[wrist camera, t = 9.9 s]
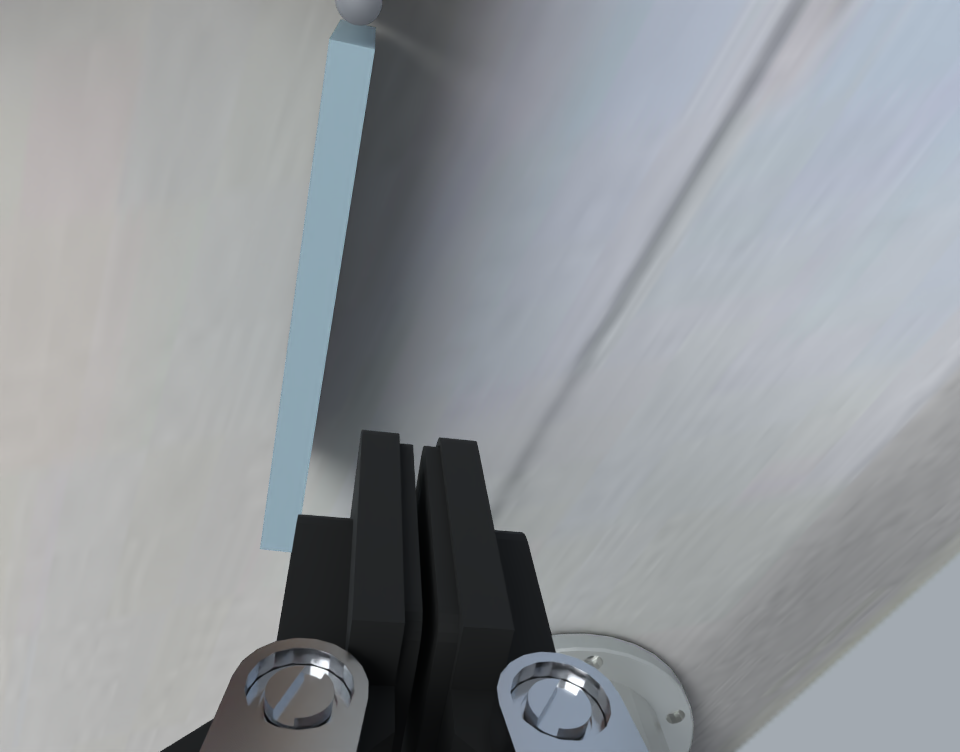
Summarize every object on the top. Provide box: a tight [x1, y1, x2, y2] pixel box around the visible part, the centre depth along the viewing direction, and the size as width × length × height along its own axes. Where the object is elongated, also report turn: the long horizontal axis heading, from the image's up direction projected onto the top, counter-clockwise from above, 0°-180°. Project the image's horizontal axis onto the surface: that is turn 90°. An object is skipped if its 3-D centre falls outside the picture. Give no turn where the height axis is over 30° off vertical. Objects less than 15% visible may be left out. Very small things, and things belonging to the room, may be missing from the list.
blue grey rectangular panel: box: [260, 0, 382, 552], centre depth 24 cm, size 1×15×6 cm, turn 167°
